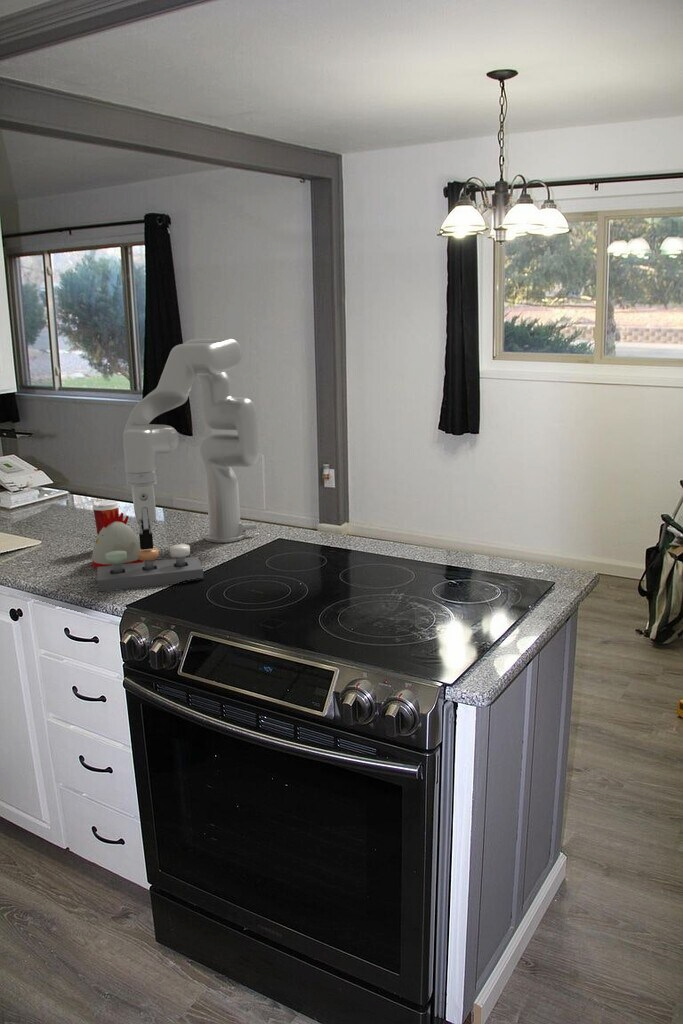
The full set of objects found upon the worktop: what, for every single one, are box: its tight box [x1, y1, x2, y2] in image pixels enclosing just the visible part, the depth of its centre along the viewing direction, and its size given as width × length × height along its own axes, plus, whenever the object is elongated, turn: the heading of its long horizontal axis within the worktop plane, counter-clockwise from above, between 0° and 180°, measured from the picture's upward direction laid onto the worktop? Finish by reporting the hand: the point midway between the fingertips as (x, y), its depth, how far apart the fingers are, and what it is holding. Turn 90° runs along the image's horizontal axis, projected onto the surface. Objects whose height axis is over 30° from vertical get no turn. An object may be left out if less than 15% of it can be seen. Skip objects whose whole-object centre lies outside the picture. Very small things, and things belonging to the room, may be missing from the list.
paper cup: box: [92, 500, 120, 535], centre depth 248 cm, size 8×8×14 cm
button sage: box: [105, 551, 127, 574], centre depth 216 cm, size 5×5×5 cm
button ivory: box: [169, 543, 191, 567], centre depth 221 cm, size 5×5×5 cm
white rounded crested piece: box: [91, 510, 144, 569], centre depth 234 cm, size 14×14×15 cm
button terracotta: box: [138, 546, 160, 570], centre depth 219 cm, size 5×5×5 cm
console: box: [96, 556, 204, 592], centre depth 219 cm, size 26×12×3 cm, turn 106°
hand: (146, 548), depth 217 cm, fingers closed
